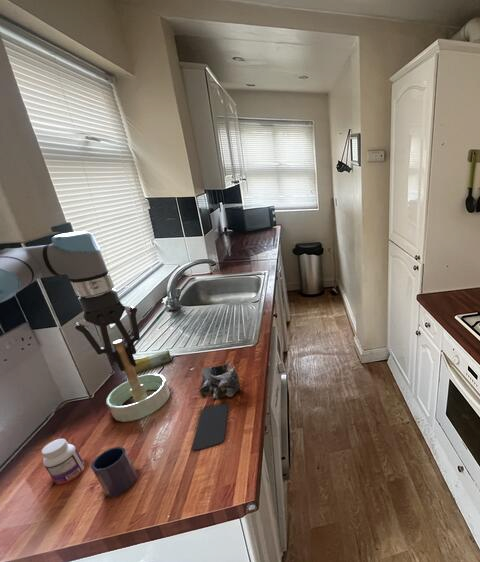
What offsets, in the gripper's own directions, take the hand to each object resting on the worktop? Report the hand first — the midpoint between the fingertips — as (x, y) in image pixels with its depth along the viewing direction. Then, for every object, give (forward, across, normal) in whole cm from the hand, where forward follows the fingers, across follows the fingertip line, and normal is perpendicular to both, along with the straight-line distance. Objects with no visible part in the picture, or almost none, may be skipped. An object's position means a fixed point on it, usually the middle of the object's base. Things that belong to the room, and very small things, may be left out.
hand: (127, 366), depth 88 cm
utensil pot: (+14, -11, -26) cm, 32 cm away
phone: (+14, +10, -25) cm, 31 cm away
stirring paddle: (+13, 0, 0) cm, 13 cm away
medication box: (+14, +8, +19) cm, 25 cm away
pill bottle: (+14, -18, -13) cm, 27 cm away
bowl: (+14, 0, 0) cm, 14 cm away
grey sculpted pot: (+15, +19, -12) cm, 27 cm away
